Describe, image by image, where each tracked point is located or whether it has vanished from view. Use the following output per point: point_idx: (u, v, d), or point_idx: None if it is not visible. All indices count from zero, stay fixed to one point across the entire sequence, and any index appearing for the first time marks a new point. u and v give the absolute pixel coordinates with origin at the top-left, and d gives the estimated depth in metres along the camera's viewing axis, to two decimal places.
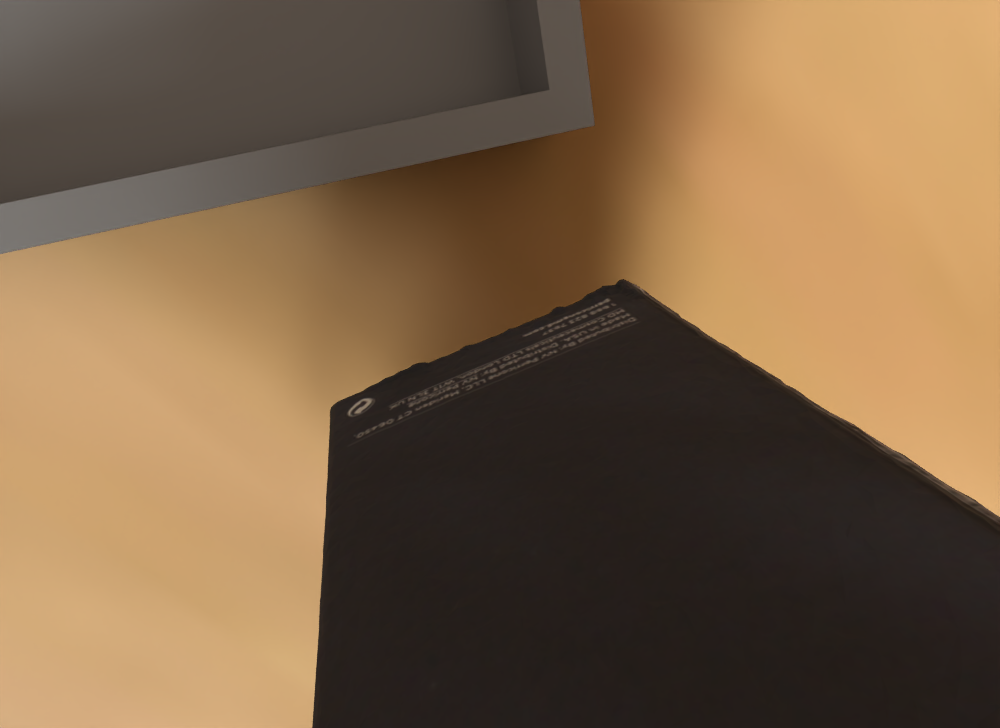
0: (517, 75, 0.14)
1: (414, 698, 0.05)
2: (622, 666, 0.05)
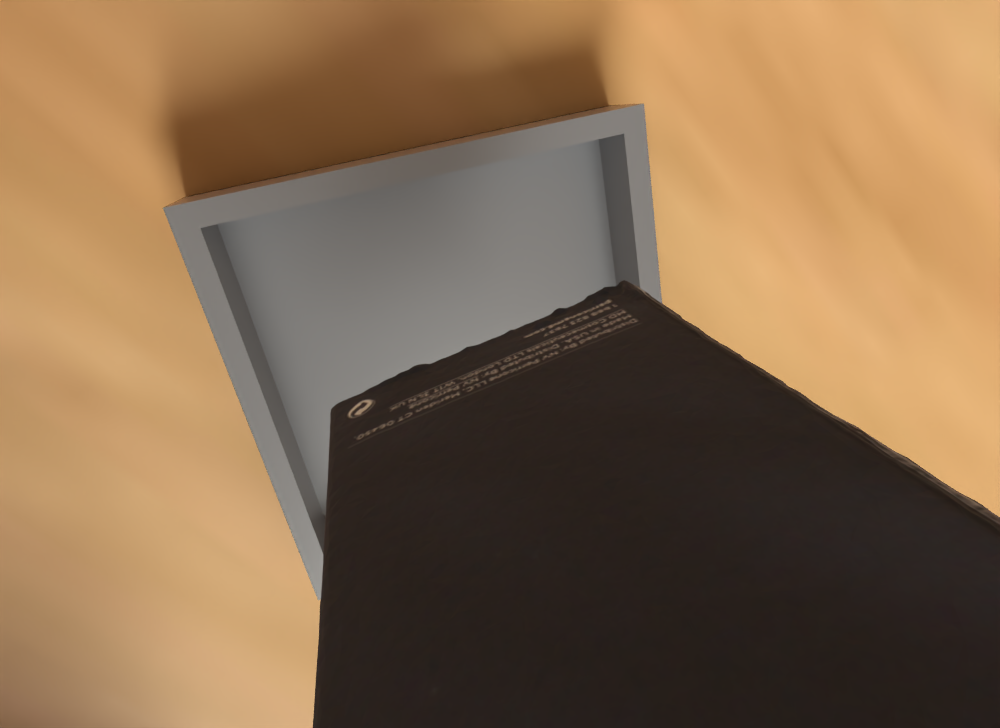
0: None
1: (415, 703, 0.05)
2: (625, 670, 0.05)
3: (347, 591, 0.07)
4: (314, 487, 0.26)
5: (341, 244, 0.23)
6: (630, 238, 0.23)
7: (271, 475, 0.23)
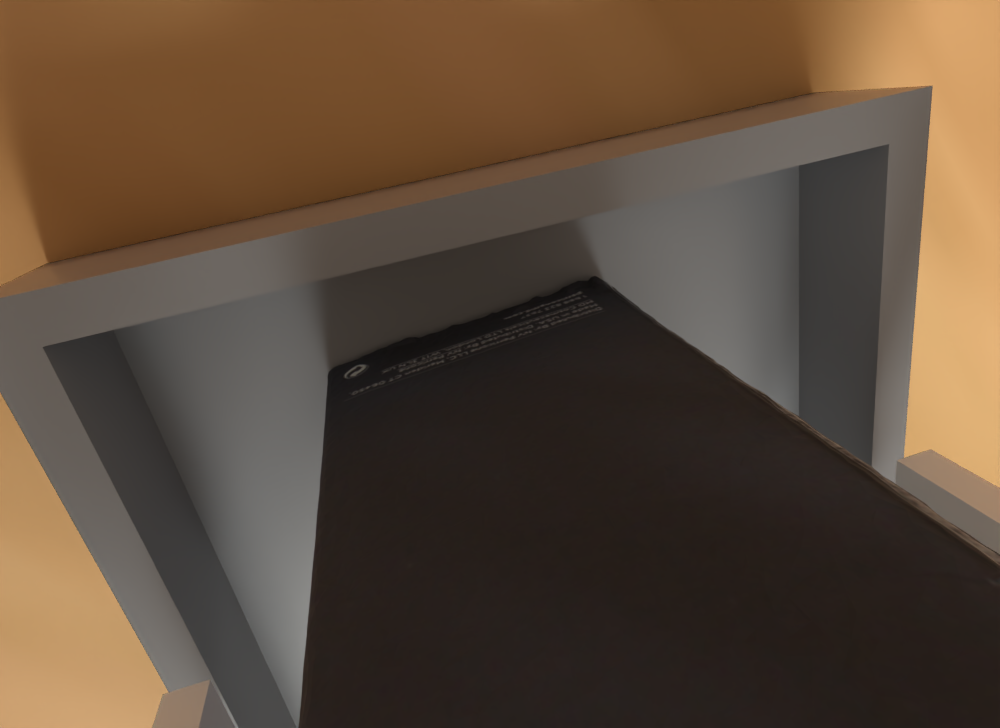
0: None
1: (394, 574, 0.07)
2: (558, 548, 0.06)
3: (340, 503, 0.08)
4: (297, 724, 0.16)
5: (342, 344, 0.13)
6: (862, 331, 0.13)
7: None
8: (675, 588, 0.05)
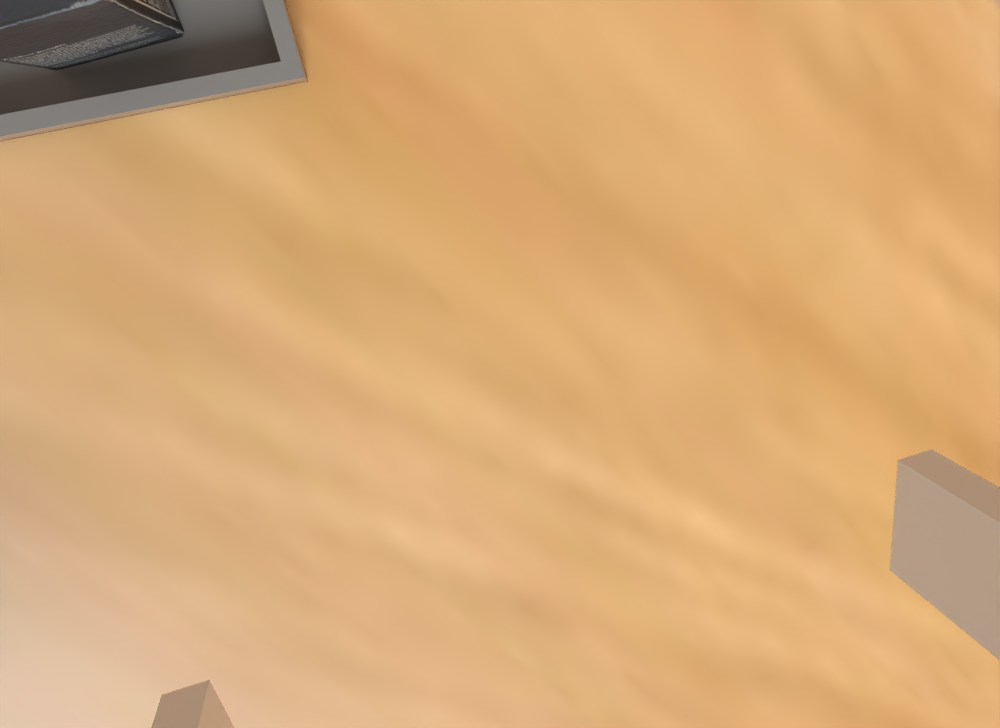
0: None
1: None
2: None
3: None
4: None
5: None
6: None
7: None
8: None
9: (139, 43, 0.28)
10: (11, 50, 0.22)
